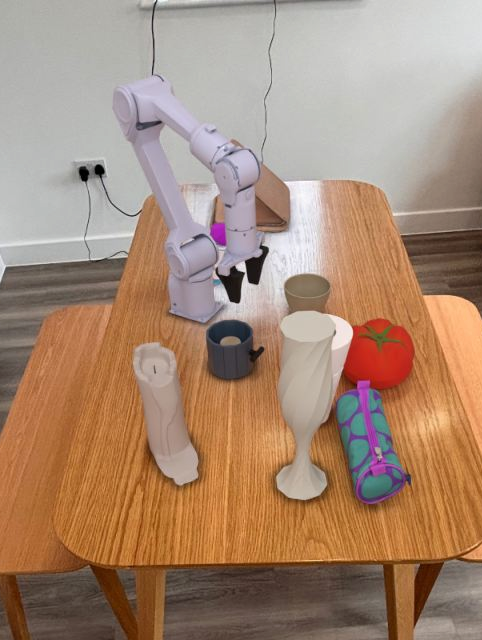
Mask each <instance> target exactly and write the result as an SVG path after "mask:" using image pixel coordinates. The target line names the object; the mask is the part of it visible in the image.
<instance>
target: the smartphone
mask: <svg viewBox="0 0 482 640" xmlns="http://www.w3.org/2000/svg"><path fill="white" fill-rule="evenodd" d="M218 249H219V261H218V262H217V263H216V264H215V268H216V267H218V263H219V262H220V261H221V259H222V257H223V254H224V251H225V249H222V248H221V249H220V248H218ZM212 273H213V285H215V284H216V285H220V284H222V282H221V280H220V279H219V278H218V276H217V275H216V273H215V270H214V271H213V272H212Z"/></svg>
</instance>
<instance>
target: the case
mask: <svg viewBox="0 0 482 640" xmlns="http://www.w3.org/2000/svg"><path fill="white" fill-rule="evenodd" d="M229 141H230V142H231V143H233V144H234V145H235V146H236V147H237V146H240V147H241V148H244V147H245V146H244V145H243V144H242V143H240V142H239V141H238V140H236V139H231V140H229ZM259 161H260V165H261V177H260V179H259V181H258V182H257V183H255V184H254V185H255V207H256V231H260V232H265V233H266V232H269V233H270V232H283V231H285V230H286V229H287V228H288V226H289V225H288V223H289V222H290V220H291V191H290V189H289V187H288V185H287V184H286V183H285V182H284V181H283V180H282V179H281V178H280V177H279V176H278V175H276V174H275V173H274V172H273V171H272V170H271V169H270V168H268V167H267V166H266V165H265V164H264V163H263V162H262V161H261V160H259ZM252 186H253V185H252ZM212 203H213V204H212V211H211V216H210V223H209V230H211V227H212V225H214V224H215V223H220V222H221V223H223V224H225V218H224V205H223V202H222V201H221V198H220V193H218V194H217V195H216V196H214V198H213V202H212Z"/></svg>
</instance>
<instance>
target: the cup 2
mask: <svg viewBox="0 0 482 640" xmlns="http://www.w3.org/2000/svg"><path fill="white" fill-rule="evenodd" d="M324 314H325V315H328V316H330V318H331V319H332V320H333V322H334V323H335V324H336V328H335V332H334V337H333V342H332V346H331V348H332V375H333V395H332V401H331V405H330V408H329V410H328V413H327V415H326V417H325V418H324V420H323V422H322V423H321V424H324V423H325V422H327V421H328V419H329V417H330V413H331V410H332V407H333V403H334V400H335V398H336V397H335V396H336V393H337V390H338V387H339V382H340V379H341V376H342V373H343V366H344V363H345V360H346V357H347V353H348V350H349V347H350V343H351V340H352V337H353V329H352V326H351V324H350V323H349V322H348V321H347V320H345V319H343V318H342V317H340V316H337V315H334V314H329V313H324Z"/></svg>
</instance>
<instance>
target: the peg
mask: <svg viewBox="0 0 482 640" xmlns="http://www.w3.org/2000/svg"><path fill="white" fill-rule="evenodd" d="M240 343H241V341H240V339H239V338H237V337H234V336H229V337H225V338H223V339H222V340H221V342H220V345H223V346H226V345H237V344H240Z"/></svg>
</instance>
